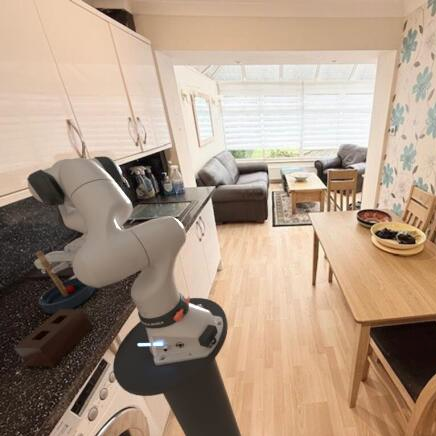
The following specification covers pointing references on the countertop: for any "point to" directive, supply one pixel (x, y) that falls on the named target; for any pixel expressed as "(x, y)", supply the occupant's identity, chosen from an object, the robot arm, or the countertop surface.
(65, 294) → the stirring stick
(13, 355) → the countertop surface
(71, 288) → the cherry tomato
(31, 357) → the utensil block
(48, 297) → the bowl
